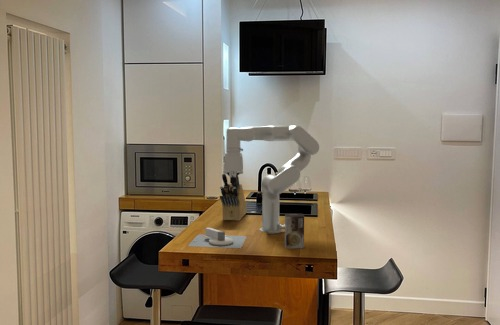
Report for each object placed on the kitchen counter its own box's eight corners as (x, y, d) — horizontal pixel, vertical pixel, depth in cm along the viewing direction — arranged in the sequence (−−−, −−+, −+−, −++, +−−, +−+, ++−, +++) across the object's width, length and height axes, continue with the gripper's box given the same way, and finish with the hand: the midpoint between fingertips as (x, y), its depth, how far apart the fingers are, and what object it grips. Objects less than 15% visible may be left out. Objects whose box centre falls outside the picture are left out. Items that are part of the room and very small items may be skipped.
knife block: (218, 223, 301) (218, 172, 299) (230, 212, 336) (230, 166, 333) (236, 224, 300) (237, 172, 297) (247, 213, 334) (247, 166, 331)
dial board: (246, 239, 265) (246, 235, 265) (240, 251, 242) (240, 247, 241) (198, 237, 268) (198, 234, 268) (187, 249, 244) (187, 245, 244)
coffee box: (302, 245, 254) (303, 213, 252) (304, 248, 248) (304, 216, 246) (284, 245, 254) (284, 213, 252) (285, 248, 247) (286, 215, 246)
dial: (238, 242, 251) (238, 232, 250) (218, 246, 243) (218, 236, 243) (216, 235, 265) (216, 226, 264) (197, 239, 257) (197, 229, 256)
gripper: (247, 150, 276) (247, 183, 277) (220, 150, 277) (220, 183, 279) (246, 151, 268) (246, 185, 270) (218, 151, 270) (218, 185, 272)
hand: (233, 184), depth 275 cm, fingers closed
